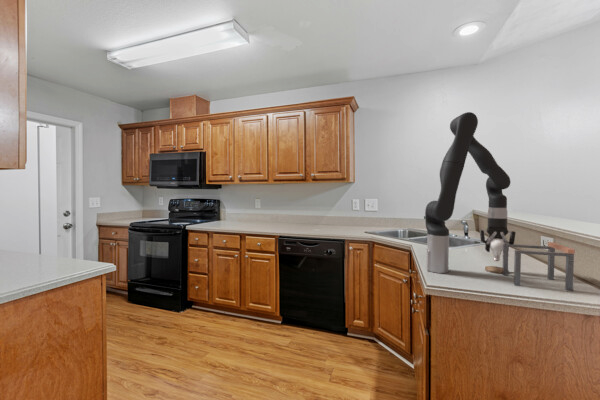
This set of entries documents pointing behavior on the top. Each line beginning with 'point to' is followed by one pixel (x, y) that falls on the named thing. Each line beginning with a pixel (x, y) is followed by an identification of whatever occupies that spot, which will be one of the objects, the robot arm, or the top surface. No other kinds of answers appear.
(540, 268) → the top surface
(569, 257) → the frame
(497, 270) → the pad
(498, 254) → the lightbulb
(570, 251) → the bar
